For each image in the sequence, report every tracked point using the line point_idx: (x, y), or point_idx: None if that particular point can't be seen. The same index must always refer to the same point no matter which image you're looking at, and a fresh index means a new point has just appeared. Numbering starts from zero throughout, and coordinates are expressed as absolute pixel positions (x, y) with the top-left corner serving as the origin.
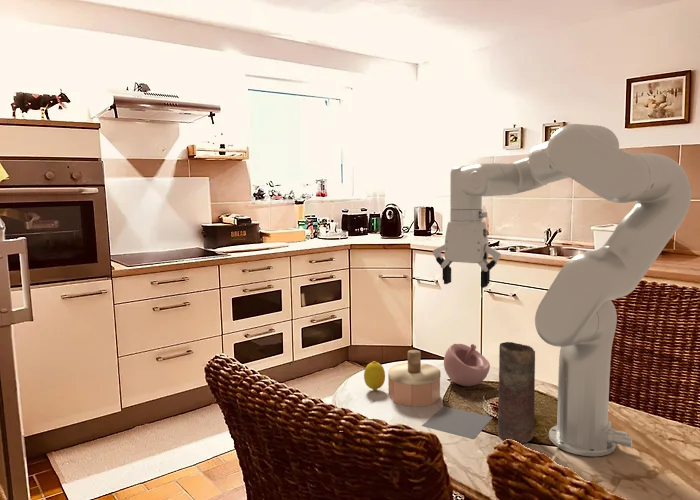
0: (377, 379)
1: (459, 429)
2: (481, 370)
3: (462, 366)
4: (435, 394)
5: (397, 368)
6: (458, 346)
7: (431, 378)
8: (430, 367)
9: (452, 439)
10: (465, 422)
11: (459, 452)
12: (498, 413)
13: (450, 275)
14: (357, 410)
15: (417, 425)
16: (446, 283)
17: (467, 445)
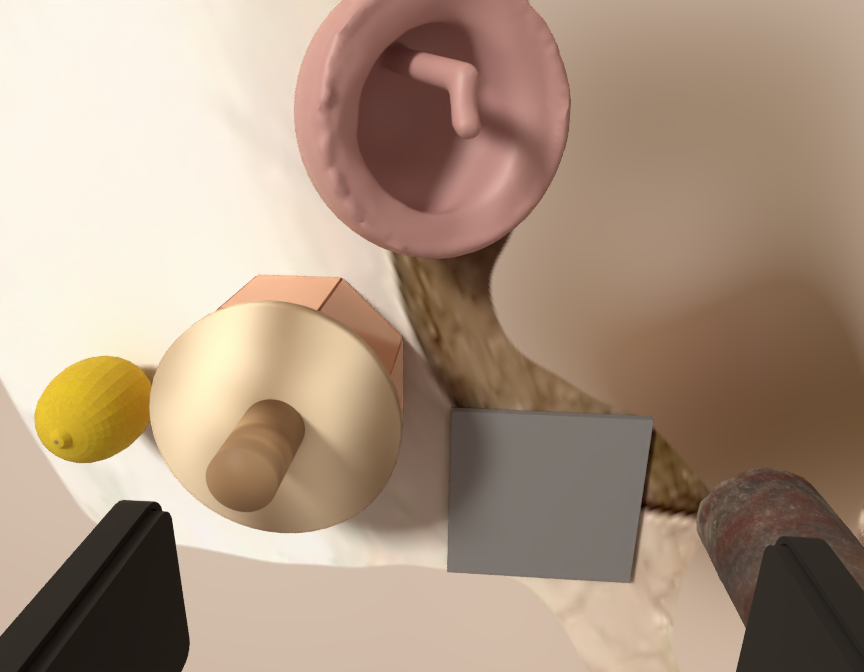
0: (136, 438)
1: (568, 548)
2: (545, 188)
3: (455, 256)
4: (398, 394)
5: (187, 429)
6: (351, 81)
7: (387, 473)
8: (315, 347)
9: (563, 591)
10: (571, 496)
11: (606, 645)
12: (724, 586)
13: (114, 618)
14: (198, 547)
15: (427, 558)
16: (183, 653)
17: (616, 604)
